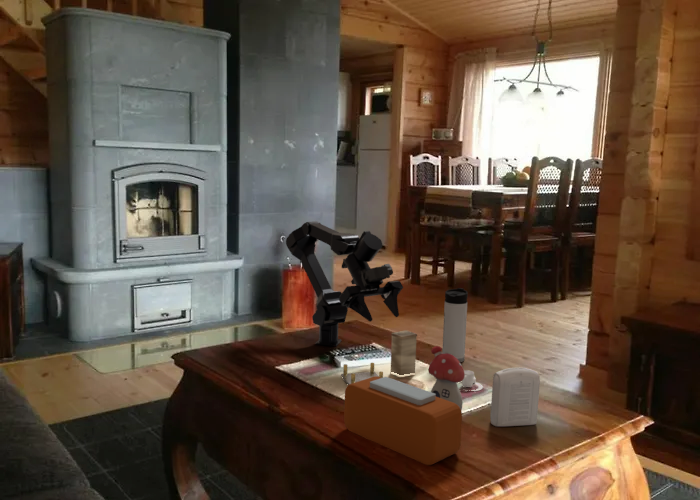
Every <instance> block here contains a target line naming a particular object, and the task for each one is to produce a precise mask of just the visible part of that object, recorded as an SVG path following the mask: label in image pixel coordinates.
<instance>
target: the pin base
mask: <svg viewBox="0 0 700 500" xmlns="http://www.w3.org/2000/svg"><path fill="white" fill-rule="evenodd" d="M369 364H370V368H369V369H370V370H369V371H364V372H363V371H362V372H349V373H348V366H349V365H348V364H346V363H345V364H343V372H342V373H340V377H341V376H342V377H343V379H344V380H345V381H346V382H347V384H348V385H349V384H352V383H355V382H358V381H362V380H365V379H368V378H371V377H375V376H378V377H381V378H383V377H384V371H379V373H376V371H375V362H370V363H369ZM343 379H342V380H343ZM344 380H343V381H344ZM345 381H344V382H345ZM347 384H346V385H347ZM348 385H347V386H348Z"/></svg>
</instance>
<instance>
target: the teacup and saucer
mask: <svg viewBox="0 0 700 500" xmlns="http://www.w3.org/2000/svg"><path fill="white" fill-rule="evenodd" d="M463 370H464V379H463V380H462V382H461V385H462V387H463V386H464V387H463V388H466V387H470V388H472V387H473V383H474V385H476V386H477V388H476V390H475V389H464V390H465V391H464V392H467V391H468V390H469V391H470V390H471V391H474V392H479V391H482V390H483V388H484V386H483V385H482V384H481V383H479V382H476V381H477V378H476V376H475V371H473V370H469V369H463Z"/></svg>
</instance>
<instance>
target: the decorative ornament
mask: <svg viewBox="0 0 700 500" xmlns="http://www.w3.org/2000/svg"><path fill="white" fill-rule="evenodd" d="M442 349H443V347H441V346H439V345H436V346H433V347H432V348H431V352H430V353H431V354H433V355H434V358H433V360H432V361H431V362H430V363H429V366H428V374H429V375H430V376H433V377H434V378H435V379H436V380H435V382H434V384H433V386H432V388H431V390H430V392H432V393H435V394H436V397H439V398H442V399H445V400H448V401H450V402H453V403H455V404H457V405H458V406H459V407H460V409H461V411H462V410H463V404H464V403H463V397H462V394H461V393H462V392H461V390H459V389H460V388H459V386H458V384H459V383H458V382H460V383H462V382H461V381H462V380H463V379H464V370H465V369H464V368H463V365H462V364H461V363H462V362H459V361H458V359H457V358H456V357H454V356H453V355H451V354H448V353H445V354H443V353H442Z"/></svg>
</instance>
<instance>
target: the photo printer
mask: <svg viewBox="0 0 700 500" xmlns="http://www.w3.org/2000/svg"><path fill="white" fill-rule="evenodd" d="M540 385H541V378H540V375H539V372H538V371H536V370H534V369H531V368H526V367H519V366H518V367H508V368H504V369H501V370H499V371H496V372H494V374H493V376H492V388H491V390H492V391H491V402H490V404H491V405H490V416H489V417H490V423H491V425H493V426H495V427H514V426H515V427H516V426H518V427H519V426H533V425H537V422H538V421H537V420H538V411H539V410H538V409H539V395H540V387H541V386H540Z"/></svg>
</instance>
